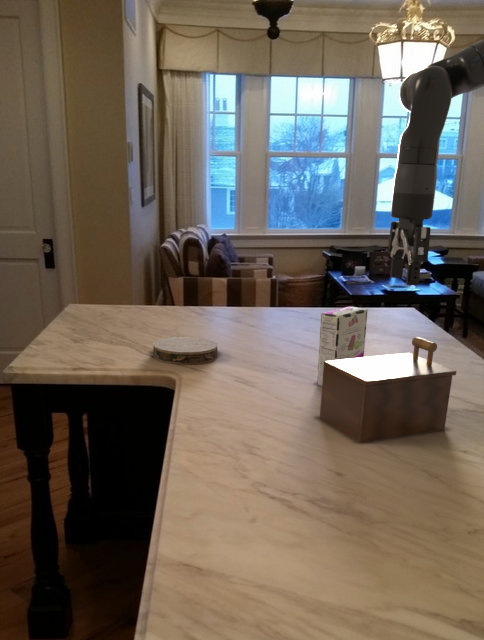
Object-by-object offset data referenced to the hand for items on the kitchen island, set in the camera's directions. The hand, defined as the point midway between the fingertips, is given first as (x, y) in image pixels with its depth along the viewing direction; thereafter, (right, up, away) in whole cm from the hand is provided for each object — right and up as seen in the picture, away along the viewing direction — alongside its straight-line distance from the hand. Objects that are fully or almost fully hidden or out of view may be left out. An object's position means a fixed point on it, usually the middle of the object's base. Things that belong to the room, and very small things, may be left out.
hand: (403, 281), depth 134 cm
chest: (-5, -28, -3) cm, 28 cm away
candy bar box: (-9, -18, +22) cm, 30 cm away
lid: (-4, -18, -6) cm, 19 cm away
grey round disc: (-45, -9, +41) cm, 61 cm away
